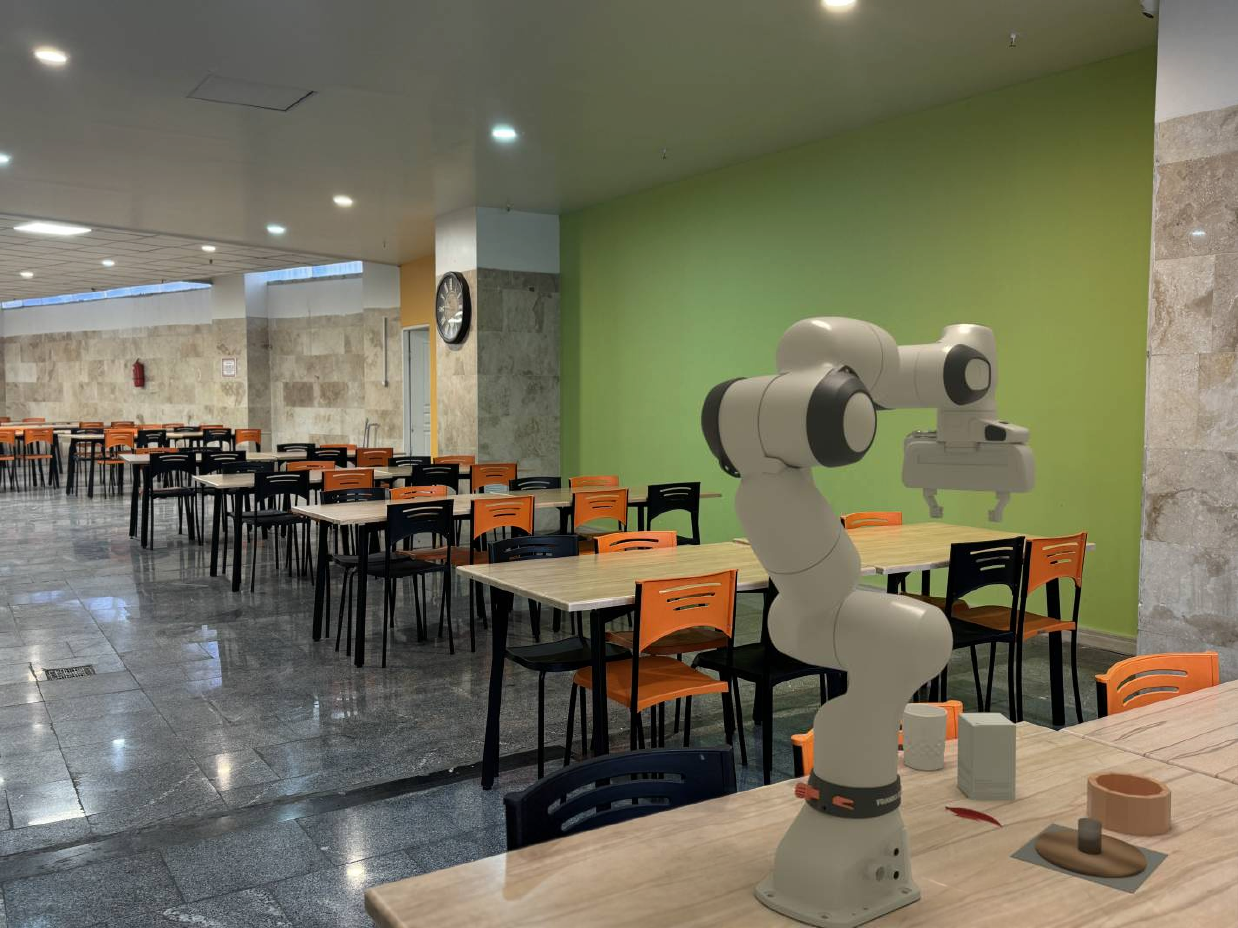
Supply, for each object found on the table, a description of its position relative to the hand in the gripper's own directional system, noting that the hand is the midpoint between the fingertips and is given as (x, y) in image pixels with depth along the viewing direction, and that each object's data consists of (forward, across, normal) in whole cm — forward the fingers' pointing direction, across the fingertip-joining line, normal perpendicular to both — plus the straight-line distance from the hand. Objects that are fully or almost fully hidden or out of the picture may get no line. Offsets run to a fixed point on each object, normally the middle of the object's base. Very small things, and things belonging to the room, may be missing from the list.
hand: (965, 519), depth 154 cm
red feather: (+47, +2, 0) cm, 47 cm away
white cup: (+46, -15, +18) cm, 52 cm away
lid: (+46, +20, -2) cm, 50 cm away
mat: (+46, +20, -2) cm, 50 cm away
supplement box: (+47, -1, +12) cm, 48 cm away
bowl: (+46, +20, +14) cm, 52 cm away
